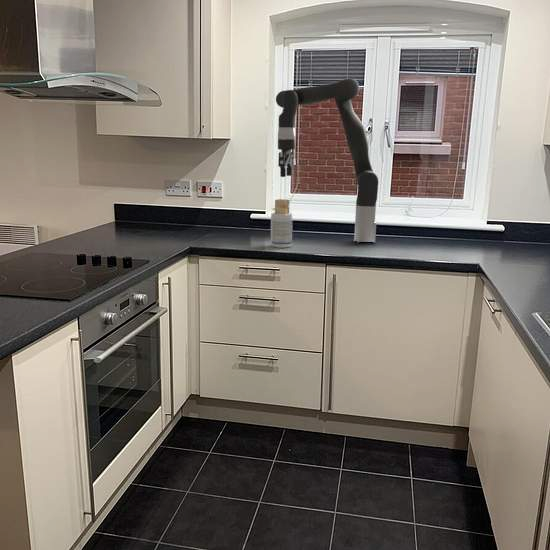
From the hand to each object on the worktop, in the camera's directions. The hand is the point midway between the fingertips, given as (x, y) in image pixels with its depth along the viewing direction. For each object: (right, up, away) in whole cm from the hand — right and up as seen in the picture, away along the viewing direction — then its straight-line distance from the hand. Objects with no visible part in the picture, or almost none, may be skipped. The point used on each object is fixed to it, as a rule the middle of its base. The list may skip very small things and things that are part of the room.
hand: (286, 176), depth 256 cm
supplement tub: (-2, -31, +5) cm, 31 cm away
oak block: (-2, -16, +1) cm, 16 cm away
